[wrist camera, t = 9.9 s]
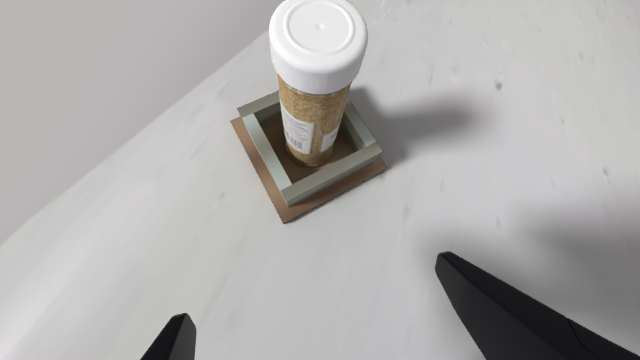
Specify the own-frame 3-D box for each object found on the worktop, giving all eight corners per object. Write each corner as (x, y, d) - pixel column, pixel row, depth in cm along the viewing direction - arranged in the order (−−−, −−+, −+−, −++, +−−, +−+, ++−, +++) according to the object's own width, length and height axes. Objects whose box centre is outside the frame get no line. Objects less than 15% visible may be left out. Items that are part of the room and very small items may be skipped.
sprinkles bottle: (340, 159, 24) (387, 53, 11) (294, 175, 23) (288, 81, 10) (322, 117, 25) (346, -24, 12) (278, 131, 24) (253, -3, 11)
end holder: (384, 169, 25) (398, 156, 21) (283, 224, 23) (280, 219, 19) (329, 82, 27) (333, 56, 23) (232, 125, 25) (220, 103, 21)
